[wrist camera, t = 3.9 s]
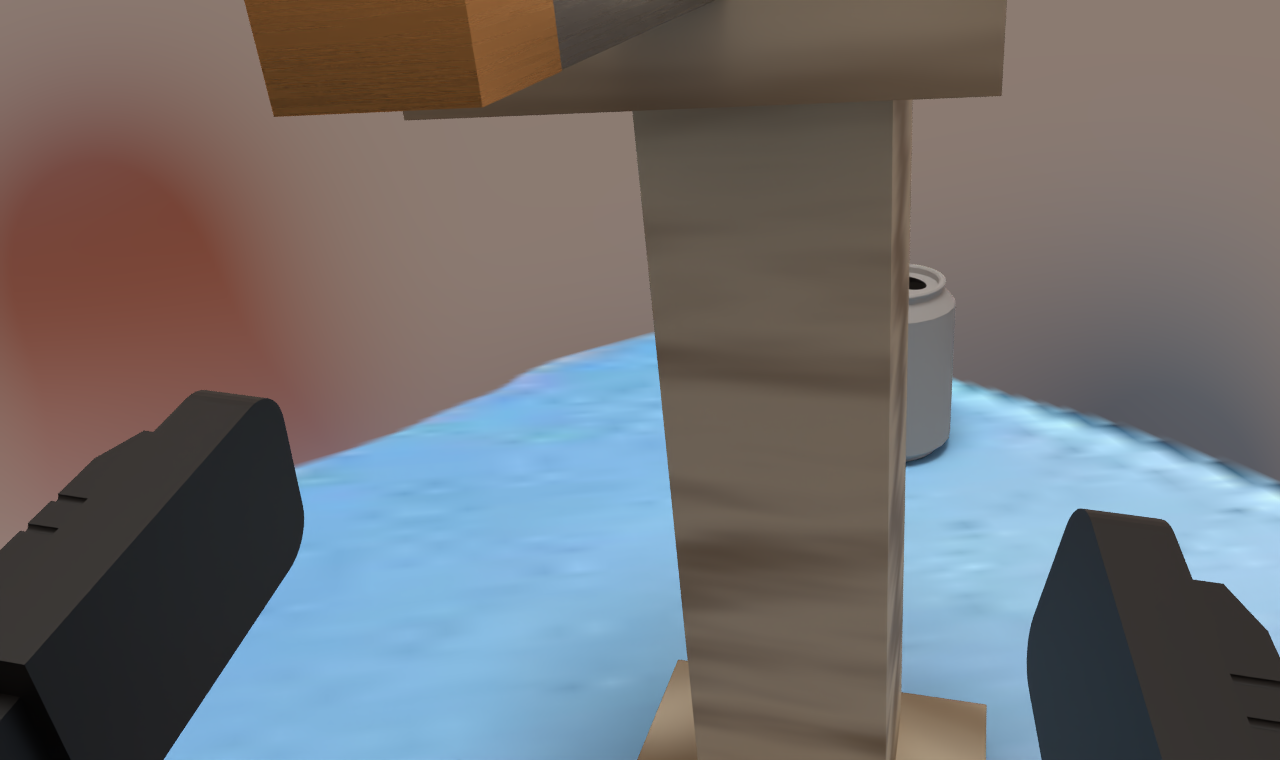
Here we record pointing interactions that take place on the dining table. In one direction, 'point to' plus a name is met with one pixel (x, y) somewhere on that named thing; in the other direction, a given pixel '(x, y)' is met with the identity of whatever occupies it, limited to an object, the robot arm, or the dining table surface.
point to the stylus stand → (786, 353)
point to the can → (928, 361)
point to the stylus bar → (432, 48)
